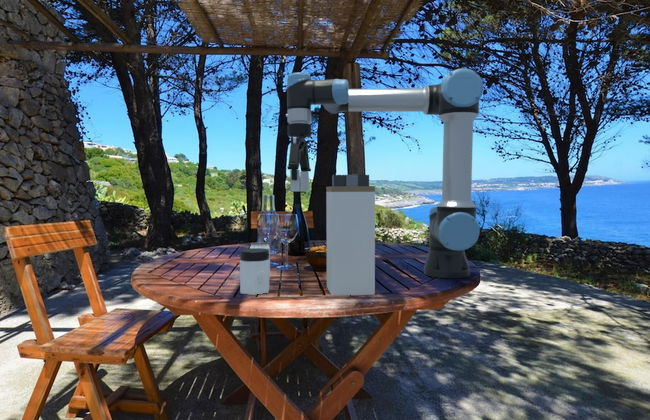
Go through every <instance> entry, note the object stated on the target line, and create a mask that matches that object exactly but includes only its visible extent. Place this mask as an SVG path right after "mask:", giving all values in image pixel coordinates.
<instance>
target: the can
mask: <svg viewBox="0 0 650 420" xmlns="http://www.w3.org/2000/svg"><path fill="white" fill-rule="evenodd" d="M252 248H262V249H268V250H269V280H271V250H270V249H271V248H270V245H269V242H266V241H256V242H250V247H249V249H252Z"/></svg>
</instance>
